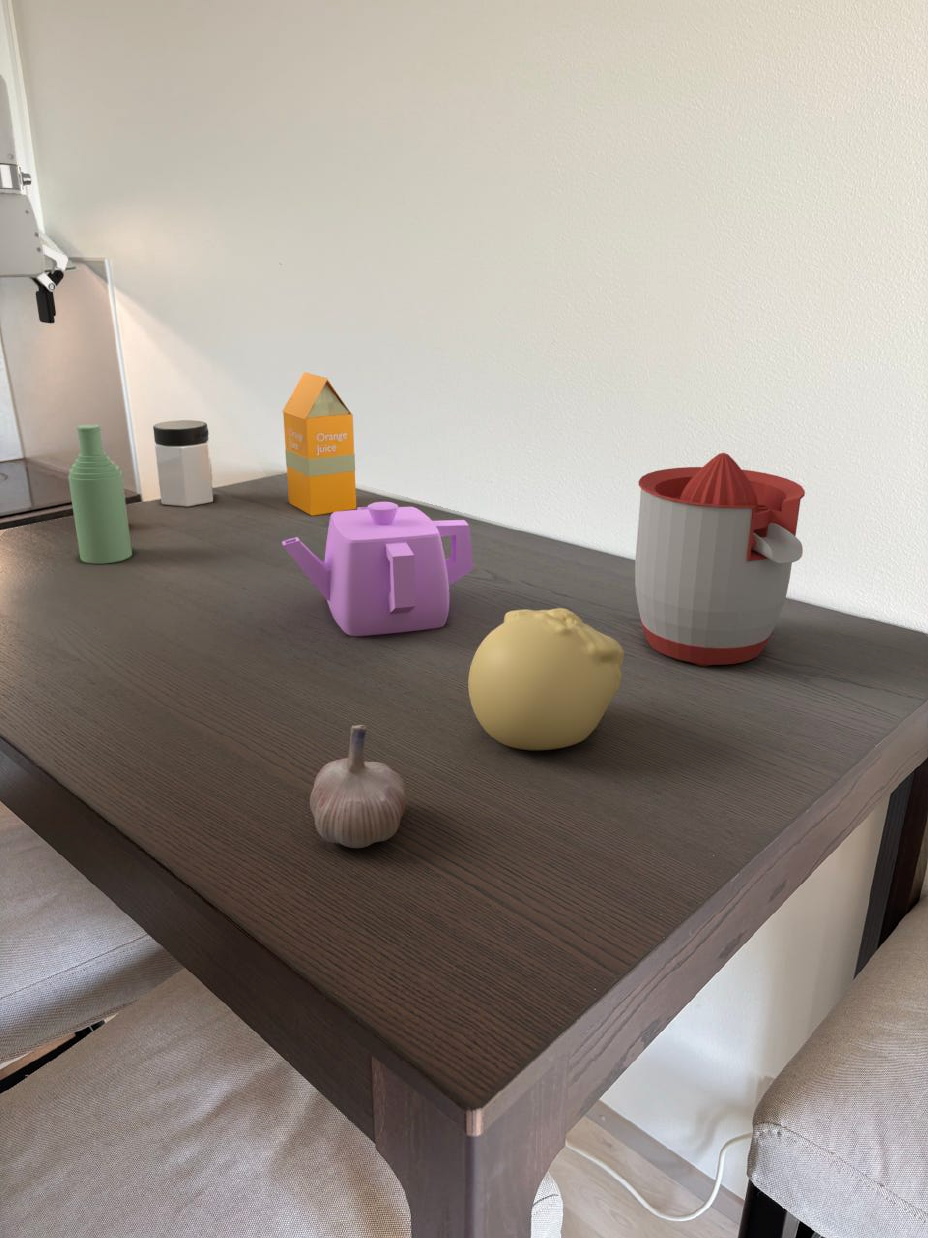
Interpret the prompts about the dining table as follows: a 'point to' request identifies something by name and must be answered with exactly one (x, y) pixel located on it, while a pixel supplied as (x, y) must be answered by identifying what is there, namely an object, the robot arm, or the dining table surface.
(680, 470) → the citrus juicer
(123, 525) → the bottle
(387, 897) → the dining table surface
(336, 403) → the orange juice
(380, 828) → the garlic bulb
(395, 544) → the teakettle
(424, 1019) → the dining table surface
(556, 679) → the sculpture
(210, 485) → the jar
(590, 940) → the dining table surface
